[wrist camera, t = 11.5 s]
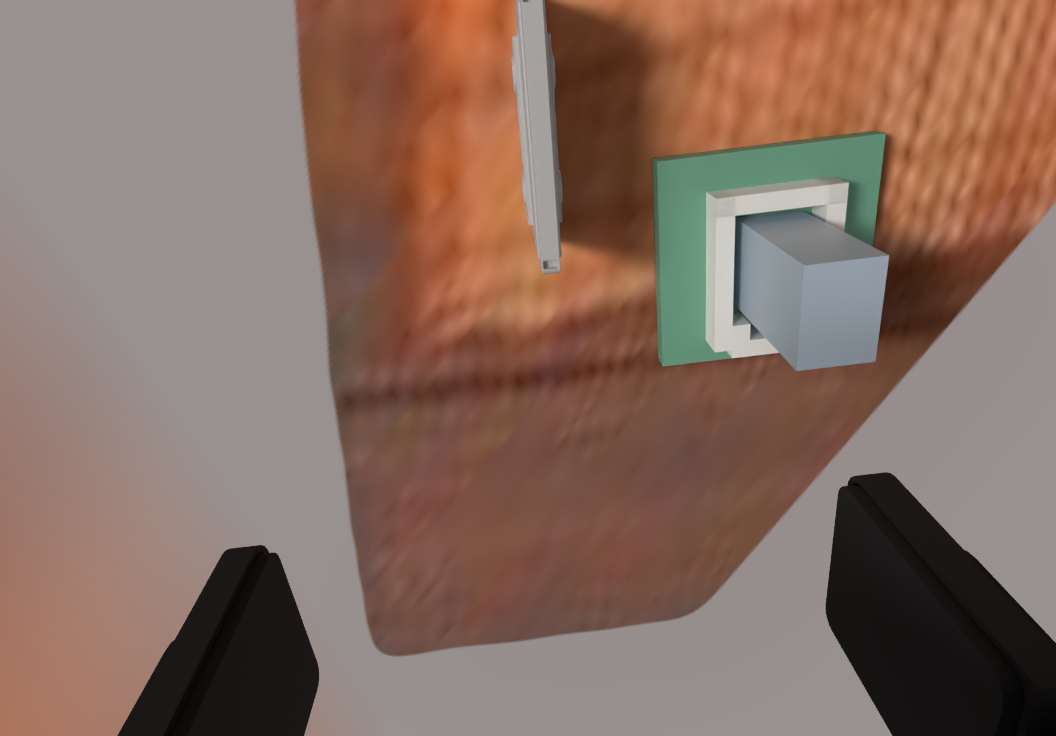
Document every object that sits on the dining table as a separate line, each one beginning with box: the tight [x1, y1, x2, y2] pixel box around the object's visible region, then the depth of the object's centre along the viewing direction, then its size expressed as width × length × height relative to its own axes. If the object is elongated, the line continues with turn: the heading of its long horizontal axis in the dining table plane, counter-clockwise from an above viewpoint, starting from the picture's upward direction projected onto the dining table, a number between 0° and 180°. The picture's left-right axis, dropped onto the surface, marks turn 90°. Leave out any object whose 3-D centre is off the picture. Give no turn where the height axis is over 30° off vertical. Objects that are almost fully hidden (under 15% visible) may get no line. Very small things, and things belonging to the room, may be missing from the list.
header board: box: [652, 131, 886, 366], centre depth 37 cm, size 12×12×3 cm
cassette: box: [512, 0, 563, 274], centre depth 31 cm, size 12×2×8 cm, turn 5°
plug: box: [733, 210, 889, 371], centre depth 33 cm, size 6×4×9 cm, turn 6°
